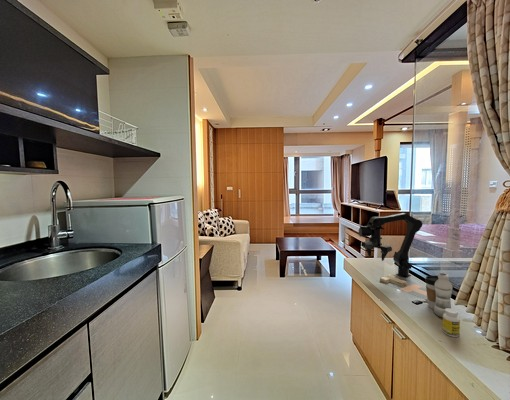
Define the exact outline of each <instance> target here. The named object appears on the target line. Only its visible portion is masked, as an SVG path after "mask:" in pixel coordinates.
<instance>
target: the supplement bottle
mask: <svg viewBox="0 0 510 400" xmlns="http://www.w3.org/2000/svg"><path fill="white" fill-rule="evenodd" d="M458 312H459V311H457V310H456V309H453V308H451V309H450V308H446V309H445V313H444V314H443V318H442V332H443V333H444V334H445V335H447V336H450V337H452V338H459V336H460V331H461V330H460V329H461V327H460V325H461V319H460V317H459V316H458V315H459V313H458Z"/></svg>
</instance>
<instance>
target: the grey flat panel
mask: <svg viewBox="0 0 510 400" xmlns="http://www.w3.org/2000/svg"><path fill="white" fill-rule="evenodd" d="M399 279H400V280H403V281H406V280H404V279H401V278H399ZM376 282H379V283H382V284H384V285H387V286H389V287H392V288H395V289H397V290H399V291H402V292H406V293H408V294H411V295H412V296H416V297H418V298H421V299H424V300H425V301H426V302H428V299H427V291H426V287H424V286H421V285H418V284H416V283H412V282H410V281H406V282H407V285H406V286H400V285H397V284H395V283H392V282H388V283H384V282H381V281H380V279H377V280H376Z"/></svg>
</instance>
